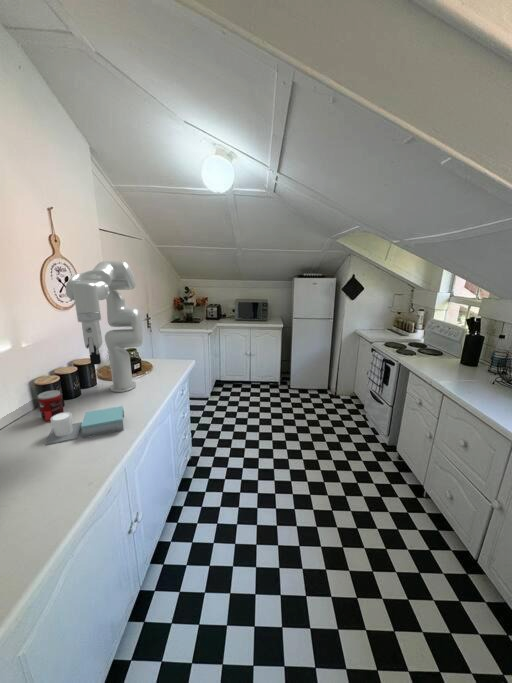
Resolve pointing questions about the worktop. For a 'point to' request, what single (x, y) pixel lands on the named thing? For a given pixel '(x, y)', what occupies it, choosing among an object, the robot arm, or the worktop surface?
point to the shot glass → (62, 423)
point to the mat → (72, 436)
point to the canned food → (50, 404)
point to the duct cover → (102, 417)
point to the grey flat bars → (103, 429)
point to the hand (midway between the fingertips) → (96, 363)
